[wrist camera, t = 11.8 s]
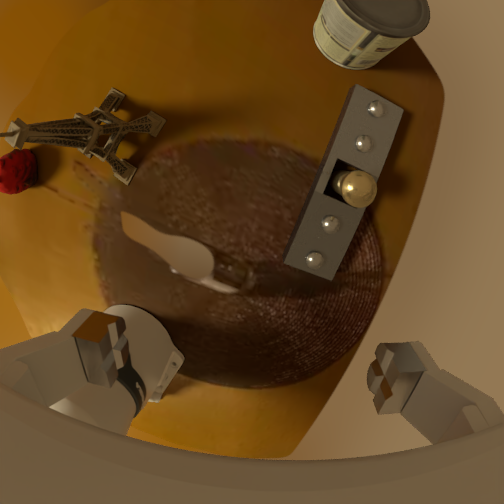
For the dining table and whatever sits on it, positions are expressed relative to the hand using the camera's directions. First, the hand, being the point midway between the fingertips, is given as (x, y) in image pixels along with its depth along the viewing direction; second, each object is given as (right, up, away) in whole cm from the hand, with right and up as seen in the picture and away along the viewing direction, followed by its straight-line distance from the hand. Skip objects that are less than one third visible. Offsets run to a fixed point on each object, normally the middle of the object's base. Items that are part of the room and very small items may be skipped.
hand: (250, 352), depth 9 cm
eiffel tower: (-19, +20, +27) cm, 38 cm away
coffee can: (+13, +32, +22) cm, 41 cm away
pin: (+12, +12, +28) cm, 33 cm away
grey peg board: (+12, +12, +28) cm, 33 cm away
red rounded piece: (-38, +17, +29) cm, 51 cm away
